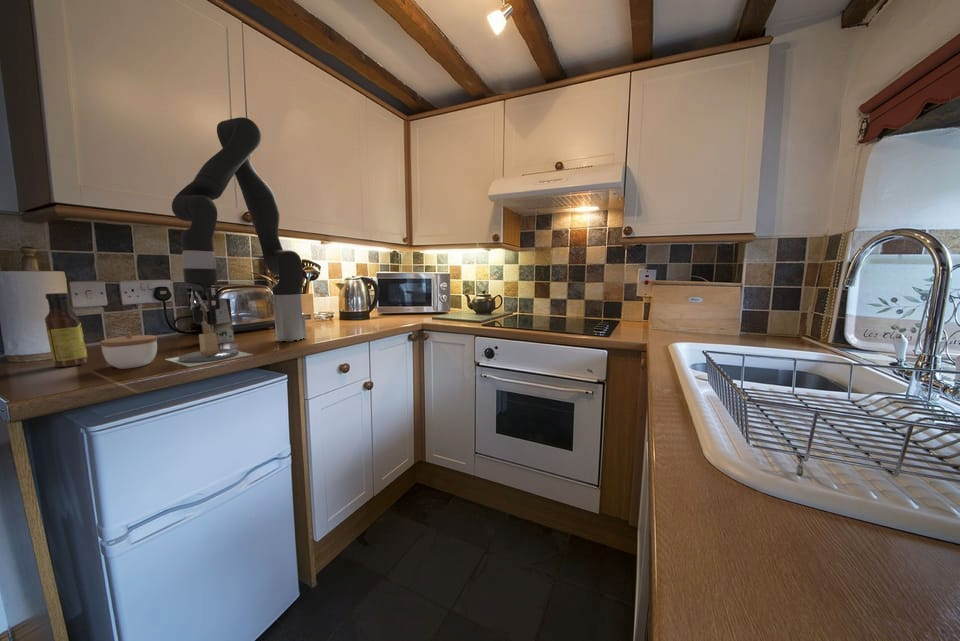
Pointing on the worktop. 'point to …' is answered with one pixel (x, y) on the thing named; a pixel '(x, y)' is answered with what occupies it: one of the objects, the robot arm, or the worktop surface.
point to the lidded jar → (129, 350)
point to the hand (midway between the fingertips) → (204, 323)
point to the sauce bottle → (64, 332)
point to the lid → (208, 351)
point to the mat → (176, 360)
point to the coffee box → (220, 322)
